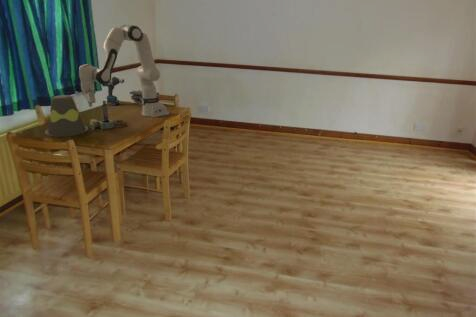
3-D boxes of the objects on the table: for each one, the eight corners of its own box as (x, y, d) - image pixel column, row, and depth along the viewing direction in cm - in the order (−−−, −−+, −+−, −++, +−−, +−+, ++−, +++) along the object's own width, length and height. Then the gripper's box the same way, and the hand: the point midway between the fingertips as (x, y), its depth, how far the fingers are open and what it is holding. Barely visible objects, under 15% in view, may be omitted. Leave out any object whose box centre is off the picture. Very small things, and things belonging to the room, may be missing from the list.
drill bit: (108, 126, 268) (105, 100, 261) (109, 127, 265) (107, 101, 259) (103, 126, 266) (101, 100, 259) (105, 127, 264) (102, 101, 257)
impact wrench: (123, 106, 326) (121, 78, 317) (100, 104, 330) (97, 76, 321) (128, 104, 333) (125, 76, 324) (105, 102, 337) (102, 75, 328)
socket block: (110, 125, 271) (110, 119, 269) (113, 127, 265) (113, 122, 263) (89, 127, 263) (89, 122, 261) (92, 130, 257) (92, 124, 256)
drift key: (96, 124, 270) (95, 118, 269) (98, 127, 265) (98, 121, 263) (90, 125, 268) (89, 119, 267) (93, 127, 262) (92, 122, 261)
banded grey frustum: (40, 137, 239) (34, 101, 230) (48, 126, 264) (43, 92, 255) (86, 135, 246) (82, 100, 238) (89, 124, 271) (86, 91, 263)
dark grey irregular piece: (159, 104, 339) (159, 92, 335) (156, 106, 332) (155, 94, 328) (134, 102, 343) (133, 90, 339) (130, 104, 336) (129, 92, 332)
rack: (123, 123, 276) (123, 119, 275) (127, 125, 270) (126, 122, 269) (112, 124, 272) (112, 120, 271) (116, 127, 266) (115, 123, 265)
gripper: (96, 89, 257) (98, 109, 262) (88, 85, 273) (91, 103, 278) (86, 90, 254) (89, 110, 259) (79, 85, 269) (82, 104, 275)
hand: (90, 106), depth 269 cm, fingers closed
